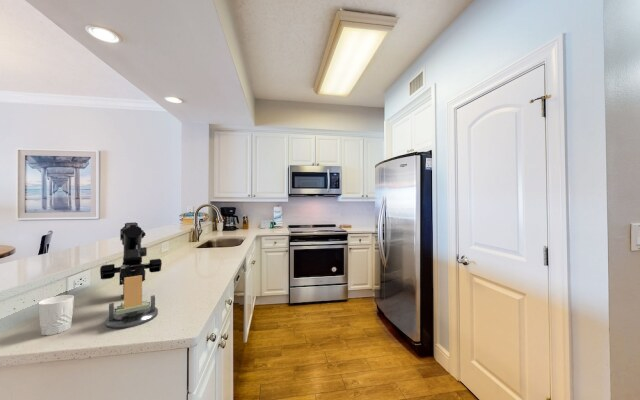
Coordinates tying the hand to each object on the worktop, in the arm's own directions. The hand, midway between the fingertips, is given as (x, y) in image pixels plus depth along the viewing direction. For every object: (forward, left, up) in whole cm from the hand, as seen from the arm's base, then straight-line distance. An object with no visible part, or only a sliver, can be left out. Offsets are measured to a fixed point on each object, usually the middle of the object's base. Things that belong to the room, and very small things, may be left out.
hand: (132, 288), depth 92 cm
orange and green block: (+4, -1, -6) cm, 7 cm away
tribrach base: (+4, -1, -10) cm, 10 cm away
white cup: (-4, -19, -10) cm, 22 cm away
